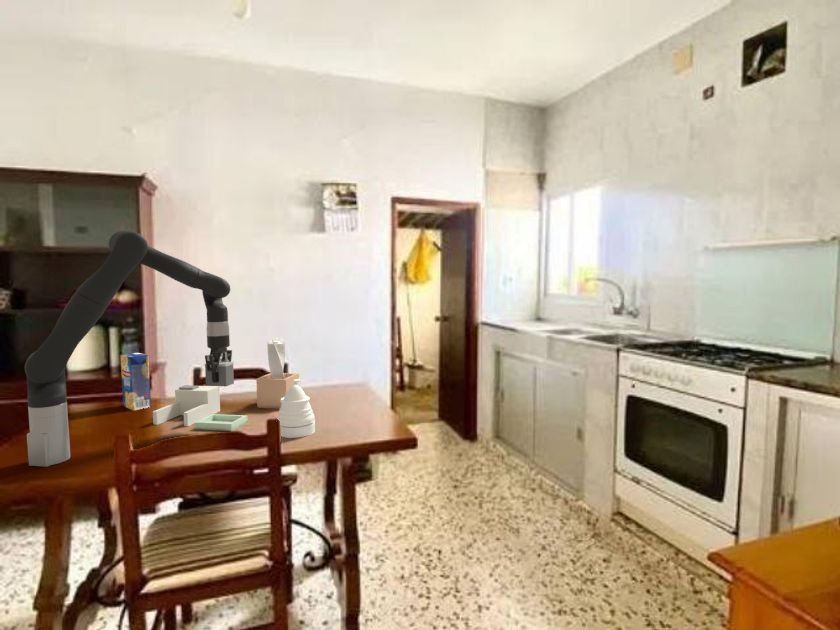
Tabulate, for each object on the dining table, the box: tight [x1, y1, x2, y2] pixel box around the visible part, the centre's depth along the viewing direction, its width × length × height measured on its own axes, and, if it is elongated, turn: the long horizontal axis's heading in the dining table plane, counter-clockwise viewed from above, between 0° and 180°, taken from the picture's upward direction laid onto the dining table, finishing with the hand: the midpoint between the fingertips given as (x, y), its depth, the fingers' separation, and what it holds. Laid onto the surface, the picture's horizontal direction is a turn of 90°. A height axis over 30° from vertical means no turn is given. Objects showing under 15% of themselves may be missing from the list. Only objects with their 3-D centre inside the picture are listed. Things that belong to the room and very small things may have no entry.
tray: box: [194, 413, 248, 432], centre depth 184 cm, size 11×14×2 cm
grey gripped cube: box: [204, 361, 235, 387], centre depth 183 cm, size 5×8×8 cm, turn 80°
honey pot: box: [276, 378, 316, 439], centre depth 176 cm, size 13×13×18 cm
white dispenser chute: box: [152, 385, 221, 427], centre depth 195 cm, size 21×14×11 cm, turn 170°
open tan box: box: [255, 372, 300, 409], centre depth 214 cm, size 13×13×12 cm
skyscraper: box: [267, 337, 289, 379], centre depth 214 cm, size 8×8×28 cm
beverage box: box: [120, 352, 152, 411], centre depth 212 cm, size 7×11×22 cm, turn 49°
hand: (219, 380), depth 183 cm, fingers closed on grey gripped cube, 5 cm apart
